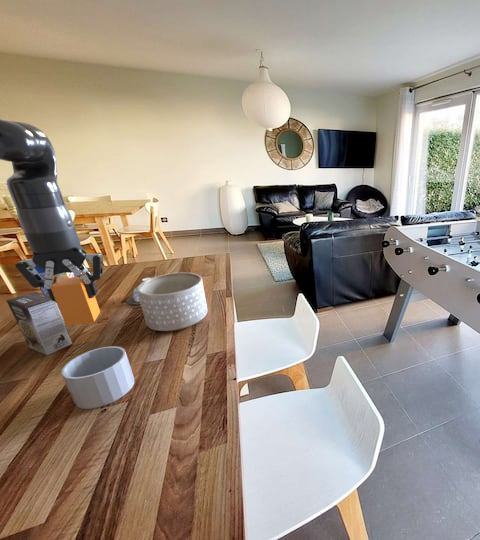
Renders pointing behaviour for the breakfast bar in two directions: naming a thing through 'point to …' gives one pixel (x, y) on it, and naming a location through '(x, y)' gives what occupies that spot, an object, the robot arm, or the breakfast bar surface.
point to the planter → (172, 301)
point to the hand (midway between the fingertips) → (76, 298)
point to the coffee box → (40, 322)
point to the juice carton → (74, 301)
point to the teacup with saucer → (135, 296)
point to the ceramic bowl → (98, 377)
